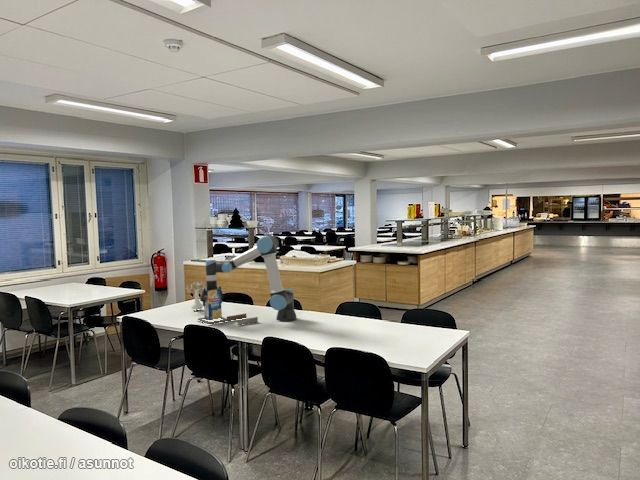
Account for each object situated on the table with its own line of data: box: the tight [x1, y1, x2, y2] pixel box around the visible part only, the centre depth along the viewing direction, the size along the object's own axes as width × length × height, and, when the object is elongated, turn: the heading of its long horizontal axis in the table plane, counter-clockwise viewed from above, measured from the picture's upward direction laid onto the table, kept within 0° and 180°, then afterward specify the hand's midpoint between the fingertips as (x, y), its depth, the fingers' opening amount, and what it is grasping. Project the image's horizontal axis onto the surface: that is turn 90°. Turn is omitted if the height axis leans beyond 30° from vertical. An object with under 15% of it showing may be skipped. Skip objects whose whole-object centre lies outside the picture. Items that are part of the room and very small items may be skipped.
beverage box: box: [203, 288, 223, 320], centre depth 350 cm, size 7×11×22 cm, turn 133°
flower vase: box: [184, 280, 206, 310], centre depth 394 cm, size 13×18×25 cm
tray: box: [197, 316, 228, 324], centre depth 351 cm, size 20×16×2 cm
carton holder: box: [226, 313, 259, 326], centre depth 346 cm, size 18×16×4 cm
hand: (212, 309), depth 351 cm, fingers closed on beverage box, 11 cm apart
